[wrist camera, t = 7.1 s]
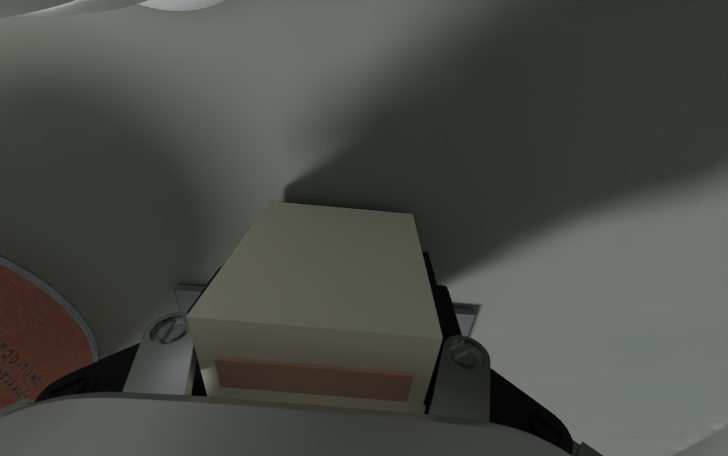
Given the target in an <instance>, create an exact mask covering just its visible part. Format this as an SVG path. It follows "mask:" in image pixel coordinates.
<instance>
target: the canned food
mask: <svg viewBox="0 0 728 456" xmlns="http://www.w3.org/2000/svg"><path fill="white" fill-rule="evenodd" d="M97 361H98V348H97V343H96V340H95V338H94V335H93V333H92V331H91V329H90V327H89V326H88V324H87V323H86V321H85V320H84V319H83V317H82V316H81V315H80V313H79V312H78V311H77V310H76V309H75V308H74V307H73V306H72V305H71V304H70V303H69V302H68V301H67V300H66V299H65V298H64V297H63V296H62V295H61V294H60V293H58V292H57V291H56V290H55V289H54V288H52V287H51V286H50V285H48V284H47V283H46V282H44V281H43V280H41V279H40V278H38V277H37V276H35V275H34V274H32V273H31V272H29V271H28V270H26V269H24V268H22V267H21V266H19V265H17V264H15V263H13V262H11V261H10V260H8V259H6V258H3V257H1V256H0V409H2V408H4V407H6V406H9V405H11V404H14V403H16V402H19V401H21V400H23V399H26V398H28V399H29V400H30V401H33V400H35V399H36V398H37V397H38V395H39V394H40V393H41V392H42V391H43V390H44V389H45V388H46V387H47V386H49V385H50V384H51V383H53V382H54V381H56V380H57V379H59V378H61V377H63V376H65V375H67V374H69V373H71V372H74V371H76V370H78V369H81V368H83V367H85V366H88V365H90V364H92V363H94V362H97Z"/></svg>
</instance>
